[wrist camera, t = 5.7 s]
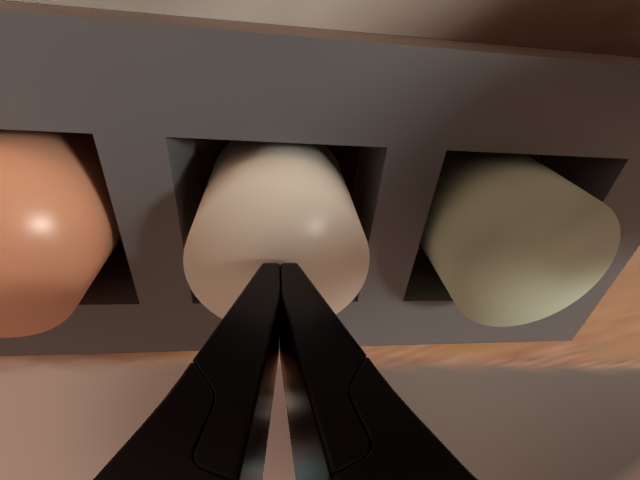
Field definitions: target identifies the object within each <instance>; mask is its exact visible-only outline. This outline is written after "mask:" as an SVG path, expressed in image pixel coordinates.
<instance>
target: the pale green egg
mask: <svg viewBox="0 0 640 480" xmlns="http://www.w3.org/2000/svg"><path fill="white" fill-rule="evenodd" d="M620 237H621V233H620V225H619V221H618V219H617V217H616V215H615V213H614V212H613V211H612V209H611V208H610V207H609V206H607V205H606V204H604V203H603V202H602V201H600V200H598V199H597V198H595V197H594V196H592V195H591V194H589V193H587V192H586V191H584V190H583V189H581V188H579V187H578V186H576V185H575V184H573V183H571V182H570V181H568V180H567V179H565V178H564V177H562V176H560V175H559V174H557V173H556V172H554V171H552V170H551V169H549V168H548V167H546V166H545V165H543V164H541V163H540V162H538V161H537V160H535V159H533V158H532V157H530V156H529V155H527V154H514V153H493V152H472V151H450V150H447V151H446V154H445V158H444V161H443V165H442V168H441V172H440V175H439V178H438V182H437V185H436V189H435V192H434V196H433V199H432V203H431V206H430V209H429V213H428V216H427V220H426V223H425V227H424V230H423V233H422V237H421V240H420V244H421V246H422V248H423V249H424V251H425V253H426V255H427V256H428V258H429V260H430V261H431V263H432V265H433V267H434V268H435V270H436V272H437V274H438V275H439V277H440V279H441V280H442V282H443V284H444V286H445V287H446V289H447V291H448V292H449V294H450V296H451V298H452V299H453V301H454V303H455V305H456V306H457V308H458V309H459V310H460V312H461V313H462V314H463V315H464V316H466V317H467V318H469V319H470V320H472V321H474V322H476V323H479V324H483V325H486V326H494V327H509V326H517V325H523V324H527V323H531V322H534V321H537V320H540V319H543V318H546V317H548V316H550V315H553V314H555V313H557V312H559V311H561V310H562V309H564V308H566V307H567V306H569V305H571V304H572V303H574V302H575V301H577V300H578V299H579V298H581V297H582V296H583V295H584V294H586V293H587V292H588V291H589V290H590V289H591V288H592V287H593V286H594V285H595V284H596V283H597V282H598V281H599V280H600V279H601V278H602V277H603V275H604V274H605V273H606V271H607V270H608V268H609V267H610V265H611V263H612V262H613V260H614V258H615V256H616V253H617V250H618V247H619V244H620Z"/></svg>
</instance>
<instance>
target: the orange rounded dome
mask: <svg viewBox="0 0 640 480" xmlns="http://www.w3.org/2000/svg"><path fill="white" fill-rule="evenodd" d="M120 239H121V235H120V231H119V227H118V224H117V220H116V217H115V213H114V209H113V206H112V202H111V198H110V195H109V191H108V188H107V184H106V180H105V177H104V173H103V170H102V166H101V162H100V159H99V155H98V151H97V148H96V144H95V141H94V137H93V134H90V133H69V132H48V131H27V130H5V129H0V338H12V337H23V336H30V335H35V334H38V333H42V332H45V331H48V330H50V329H52V328H54V327H56V326H58V325H60V324H61V323H62V322H64V321H65V320H66V319H68V317H69V316H70V315H71V314H72V313H73V312H74V310H75V309H76V307H77V305H78V304H79V302H80V301H81V299H82V298H83V296H84V295H85V293H86V291H87V290H88V288H89V287H90V285H91V284H92V282H93V281H94V279H95V277H96V276H97V274H98V273H99V271H100V270H101V268H102V267H103V265H104V264H105V262H106V260H107V259H108V257H109V256H110V254H111V253H112V251H113V250H114V248H115V246H116V245H117V243H118V242H119V240H120Z"/></svg>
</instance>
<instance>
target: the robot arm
mask: <svg viewBox="0 0 640 480" xmlns="http://www.w3.org/2000/svg"><path fill="white" fill-rule="evenodd" d="M279 348H280V362H281V369H282V377H283V385H284V392H285V401H286V408H287V416H288V424H289V432H290V439H291V447H292V455H293V463H294V470H295V478H296V480H478V479H477V478H476V477H474V476H473V475H472V474H471V473H470V472H469V471H468V470H467V469H466V468H465V467H464V466H463V465H462V464H461V463H460V461H458V459H457V458H456V457H455V456H454V455H453V454H452V453H451V452H450V451H449V450H448V449H447V448H446V447H445V445H444V444H443V443H442V442H441V441H440V440H439V439H438V438H437V437H436V436H435V435H434V434H433V433H432V432H431V431H430V429H429V428H428V427H427V426H426V425H425V424H424V423H423V422H422V421H421V420H420V419H419V418H418V417H417V416H416V415H415V413H414V412H413V411H412V410H411V409H410V408H409V407H408V406H407V405H406V404H405V402H404V401H403V400H402V399H401V398H400V397H399V396H398V395H397V394H396V392H395V391H394V390H393V389H392V388H391V386H390V385H389V384H388V383H387V381H386V380H385V379H384V378H383V377H382V375H381V374H380V373H379V371H378V370H377V369H376V367H375V366H374V365H373V363H372V362H371V361H370V359H369V358H366V354H365V353H364V351H363V350H362V349H361V347H360V346H359V345H358V343H357V342H356V341H355V339H354V338H353V337H352V335H351V334H350V333H349V331H348V330H347V329H346V327H345V326H344V325H343V323H342V322H341V321H340V319H339V318H338V317H337V315H336V314H335V313H334V311H333V310H332V309H331V307H330V306H329V305H328V303H327V302H326V301H325V299H324V298H323V297H322V295H321V294H320V293H319V291H318V290H317V289H316V287H315V286H314V285H313V283H312V282H311V281H310V279H309V278H308V277H307V275H306V274H305V273H304V271H303V270H302V269H301V267H300V266H299V265H298V264H297V263H281V265H280V264H279V263H263V264H262V265H261V266H260V267H259V269H258V270H257V271H256V273H255V274H254V276H253V277H252V278H251V280H250V281H249V283H248V284H247V285H246V287H245V288H244V290H243V291H242V292H241V294H240V295H239V297H238V298H237V299H236V301H235V302H234V304H233V305H232V306H231V308H230V309H229V311H228V312H227V313H226V315H225V316H224V318H223V319H222V320H221V322H220V323H219V325H218V326H217V327H216V329H215V330H214V332H213V333H212V334H211V336H210V337H209V339H208V340H207V341H206V343H205V344H204V346H203V347H202V348H201V350H200V351H199V353H198V354H197V355H196V357H195V358H194V359H193V363H191V364H190V365H189V366H188V368H187V369H186V370H185V372H184V373H183V375H182V376H181V377H180V379H179V380H178V381H177V383H176V384H175V385H174V387H173V388H172V389H171V391H170V392H169V393H168V395H167V396H166V397H165V398H164V400H163V401H162V402H161V403H160V405H159V406H158V407H157V408H156V409H155V410H154V412H153V413H152V414H151V415H150V416H149V417H148V418H147V420H146V421H145V422H144V423H143V424H142V426H141V427H140V428H139V429H138V430H137V431H136V432H135V433H134V435H133V436H132V437H131V438H130V439H129V440H128V441H127V442H126V443H125V445H124V446H123V447H122V448H121V449H120V450H119V451H118V452H117V454H116V455H115V456H114V457H113V458H112V459H111V460H110V461H109V462H108V464H107V465H106V466H105V467H104V468H103V469H102V470H101V471H100V472H99V474H98V475H97V476H96V477H95V478H94V479H93V480H262V479H263V471H264V464H265V455H266V448H267V441H268V433H269V426H270V418H271V410H272V403H273V395H274V387H275V379H276V372H277V365H278V356H279Z"/></svg>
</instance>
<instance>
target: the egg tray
mask: <svg viewBox="0 0 640 480" xmlns="http://www.w3.org/2000/svg"><path fill="white" fill-rule="evenodd" d="M0 129H5V130H27V131H48V132H69V133H90V134H93V137H94V141H95V144H96V148H97V151H98V155H99V159H100V162H101V166H102V170H103V173H104V177H105V180H106V184H107V188H108V191H109V195H110V198H111V202H112V206H113V209H114V213H115V217H116V220H117V224H118V227H119V231H120V235H121V238H122V242H123V246H124V248H114V250H113V251H112V253H111V254H110V256H109V257H108V259H107V260H106V262H105V264H104V265H103V267H102V268H101V270H100V271H99V273H98V274H97V276H96V277H95V279H94V281H93V282H92V284H91V285H90V287H89V288H88V290H87V291H86V293H85V295H84V296H83V298H82V299H81V301H80V302H79V304H78V305H77V307H76V309H75V310H74V312H73V313H72V314H71V315H70V316H69V317H68V319H66V320H65V321H64V322H62V323H61V324H60V325H58V326H56V327H54V328H52V329H50V330H48V331H45V332H42V333H38V334H35V335H30V336H23V337H12V338H0V356H20V355H57V354H93V353H130V352H167V351H200V350H201V348H202V347H203V346H204V344H205V343H206V341H207V340H208V339H209V337H210V336H211V334H212V333H213V332H214V330H215V329H216V327H217V326H218V325H219V323H220V322H221V320H222V318H220V317H218V316H217V315H215V314H214V313H212V312H211V311H209V310H208V309H207V308H206V307H205V306H204V305H203V304H202V303H201V302H200V301H199V300H198V299H197V297H196V296H195V295H194V293H193V291H192V290H191V288H190V286H189V284H188V282H187V279H186V276H185V272H184V266H183V254H184V247H185V244H186V240H187V237H188V234H189V232H190V229H191V226H192V224H193V221H194V218H195V216H196V213H197V210H198V207H199V205H200V202H201V199H202V197H201V188H200V180H199V171H198V162H197V154H196V145H195V138H196V139H217V140H238V141H260V142H281V143H302V144H323V145H344V146H359V151H358V157H357V164H356V171H355V178H354V184H353V191H352V198H351V199H352V201H353V204H354V207H355V209H356V212H357V215H358V218H359V220H360V223H361V226H362V228H363V231H364V234H365V237H366V239H367V242H368V247H369V255H370V262H369V270H368V273H367V277H366V280H365V282H364V284H363V286H362V288H361V290H360V291H359V293H358V294H357V296H356V297H355V298H354V299H353V300H352V302H351V303H349V304H348V305H347V306H346V307H345V308H344V309H343V310H341V311H340V312H339V313H337V314H336V315H337V317H338V318H339V319H340V321H341V322H342V323H343V325H344V326H345V327H346V329H347V330H348V331H349V333H350V334H351V335H352V337H353V338H354V339H355V341H356V342H357V343H358V345H359V346H386V345H423V344H460V343H496V342H533V341H569V340H572V339H573V338H574V336H575V335H576V333H577V332H578V331H579V329H580V328H581V326H582V325H583V324H584V322H585V321H586V319H587V318H588V317H589V315H590V314H591V312H592V311H593V310H594V308H595V307H596V305H597V304H598V303H599V301H600V300H601V298H602V297H603V296H604V294H605V293H606V291H607V290H608V289H609V287H610V286H611V284H612V283H613V282H614V280H615V279H616V277H617V276H618V275H619V273H620V272H621V270H622V269H623V268H624V266H625V265H626V263H627V262H628V261H629V259H630V258H631V256H632V255H633V254H634V252H635V251H636V249H637V248H638V247H639V245H640V57H630V56H619V55H608V54H597V53H586V52H574V51H563V50H552V49H541V48H530V47H519V46H507V45H496V44H485V43H474V42H463V41H452V40H440V39H429V38H418V37H407V36H396V35H385V34H374V33H362V32H351V31H340V30H329V29H318V28H307V27H295V26H284V25H273V24H262V23H251V22H240V21H228V20H217V19H206V18H195V17H184V16H173V15H162V14H150V13H139V12H128V11H117V10H106V9H95V8H83V7H72V6H61V5H50V4H39V3H28V2H16V1H5V0H0ZM447 150H450V151H472V152H493V153H514V154H535V155H546V156H545V158H544V161H543V163H542V164H543V165H545V166H546V167H548V168H549V169H551V170H552V171H554V172H556V173H557V174H559V175H560V176H562V177H564V178H565V179H567V180H568V181H570V182H571V183H573V184H575V185H576V186H578V187H579V188H581V189H583V190H584V191H586V192H587V193H589V194H591V195H592V196H594V197H595V198H597V199H598V200H600V201H602V202H603V203H604V204H606V205H607V206H609V207H610V208H611V209H612V211H613V212H614V213H615V215H616V217H617V219H618V221H619V225H620V233H621V237H620V244H619V247H618V250H617V253H616V256H615V258H614V260H613V262H612V263H611V265H610V267H609V268H608V270H607V271H606V273H605V274H604V275H603V277H602V278H601V279H600V280H599V281H598V282H597V283H596V284H595V285H594V286H593V287H592V288H591V289H590V290H589V291H588V292H587V293H586V294H584V295H583V296H582V297H581V298H579V299H578V300H577V301H575V302H574V303H572V304H571V305H569V306H567V307H566V308H564V309H562V310H561V311H559V312H557V313H555V314H553V315H550V316H548V317H546V318H543V319H540V320H537V321H534V322H531V323H527V324H523V325H517V326H509V327H494V326H486V325H483V324H479V323H476V322H474V321H472V320H470V319H469V318H467V317H466V316H464V315H463V314H462V313H461V312H460V310H459V309H458V308H457V306H456V305H455V303H454V301H453V299H452V298H451V296H450V294H449V292H448V291H447V289H446V287H445V286H444V284H443V282H442V280H441V279H440V277H439V275H438V274H437V272H436V270H435V268H434V267H433V265H432V263H431V261H430V260H429V258H428V256H427V255H426V253H425V251H418V247H419V244H420V240H421V237H422V233H423V230H424V227H425V223H426V220H427V216H428V213H429V209H430V206H431V203H432V199H433V196H434V192H435V189H436V185H437V182H438V178H439V175H440V172H441V168H442V165H443V161H444V158H445V154H446V151H447Z"/></svg>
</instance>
